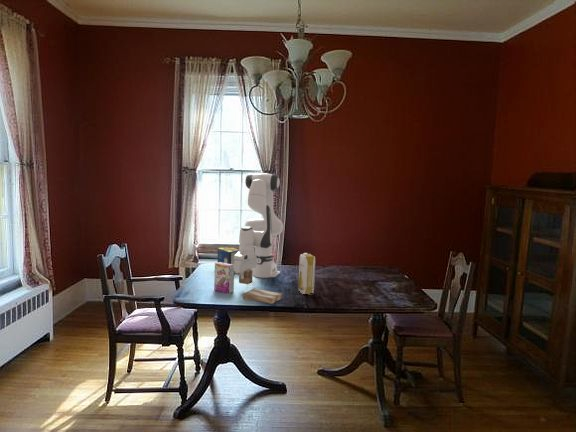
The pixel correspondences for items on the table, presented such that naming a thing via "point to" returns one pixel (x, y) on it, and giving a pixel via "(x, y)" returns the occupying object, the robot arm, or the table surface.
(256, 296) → the plinth
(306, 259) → the juice carton
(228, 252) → the protein box
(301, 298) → the table surface
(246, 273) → the walnut block
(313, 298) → the table surface
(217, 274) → the candy bar box
